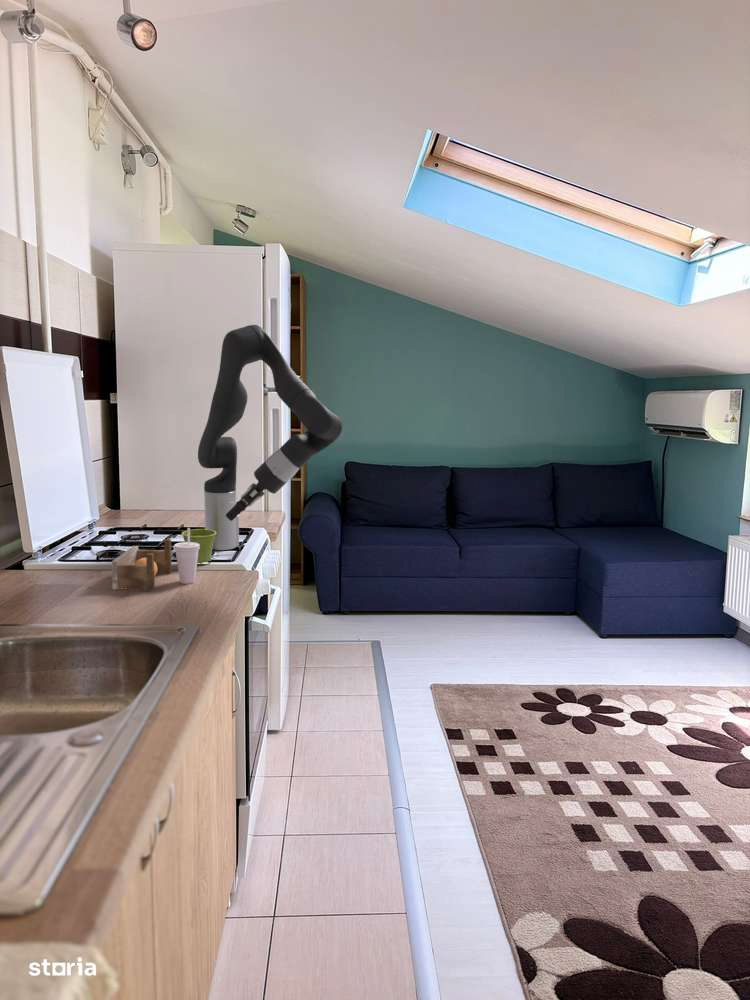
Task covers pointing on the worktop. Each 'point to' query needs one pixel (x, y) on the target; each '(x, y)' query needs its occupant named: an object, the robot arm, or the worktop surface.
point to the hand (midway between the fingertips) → (231, 514)
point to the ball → (143, 562)
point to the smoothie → (187, 559)
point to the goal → (140, 567)
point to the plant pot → (202, 542)
